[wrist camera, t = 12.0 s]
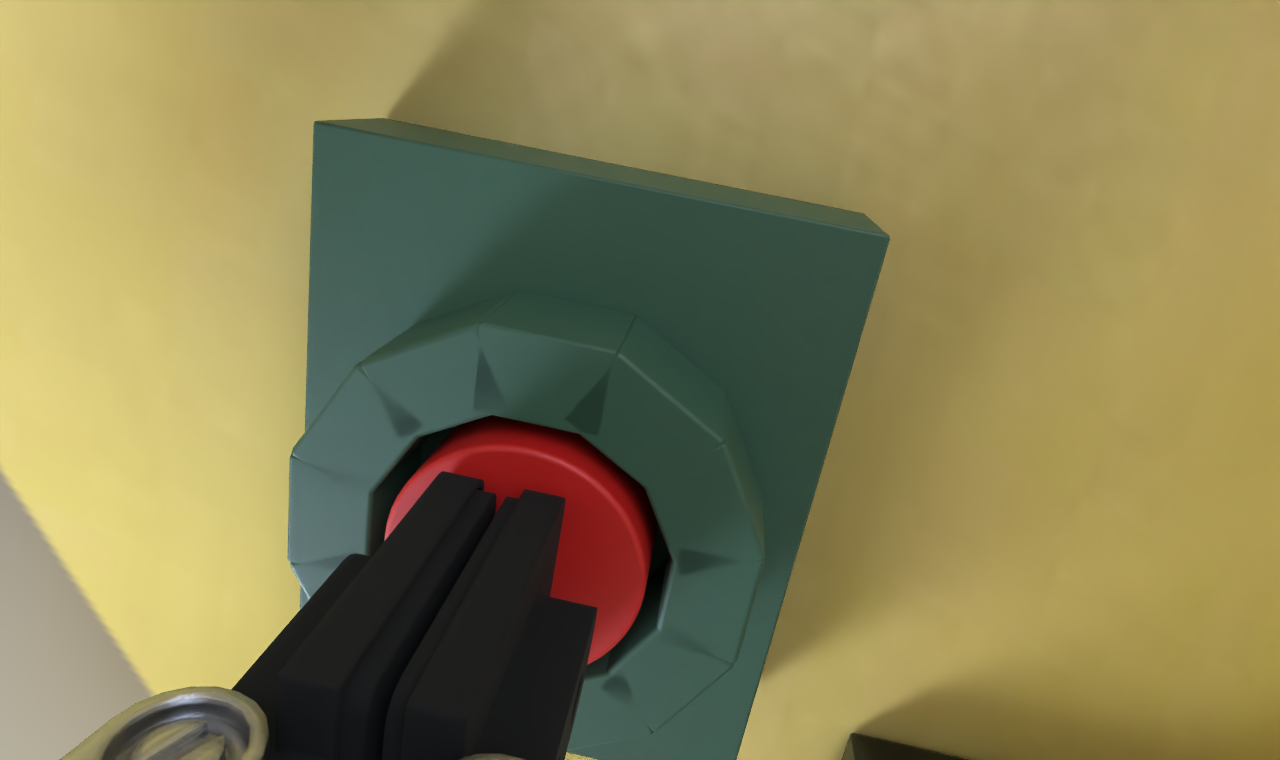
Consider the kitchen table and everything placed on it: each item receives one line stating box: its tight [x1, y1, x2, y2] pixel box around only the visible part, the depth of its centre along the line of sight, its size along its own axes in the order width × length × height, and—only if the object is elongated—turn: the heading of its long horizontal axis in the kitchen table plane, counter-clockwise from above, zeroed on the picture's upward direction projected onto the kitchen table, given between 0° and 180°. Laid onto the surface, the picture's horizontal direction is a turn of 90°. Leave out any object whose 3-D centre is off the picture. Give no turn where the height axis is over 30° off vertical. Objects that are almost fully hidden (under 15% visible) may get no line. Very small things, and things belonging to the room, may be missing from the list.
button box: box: [288, 118, 890, 760], centre depth 12 cm, size 10×8×4 cm
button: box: [385, 415, 658, 665], centre depth 11 cm, size 4×4×2 cm
